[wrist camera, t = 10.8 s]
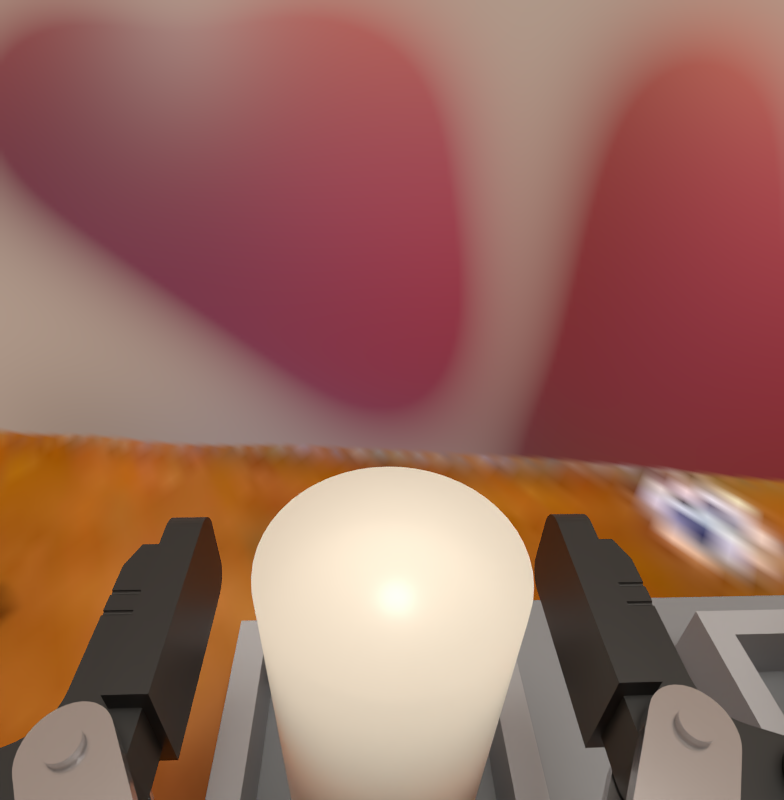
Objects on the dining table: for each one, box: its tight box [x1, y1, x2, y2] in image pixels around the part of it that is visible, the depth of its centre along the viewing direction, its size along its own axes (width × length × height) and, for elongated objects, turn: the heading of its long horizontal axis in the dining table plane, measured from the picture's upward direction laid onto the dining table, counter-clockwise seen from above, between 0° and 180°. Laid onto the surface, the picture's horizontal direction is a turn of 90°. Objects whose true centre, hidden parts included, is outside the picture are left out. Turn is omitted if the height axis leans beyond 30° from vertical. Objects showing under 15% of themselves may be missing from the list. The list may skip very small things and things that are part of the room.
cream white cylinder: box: [251, 467, 534, 800], centre depth 11 cm, size 4×4×10 cm
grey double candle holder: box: [205, 595, 784, 800], centre depth 12 cm, size 22×12×11 cm, turn 92°
